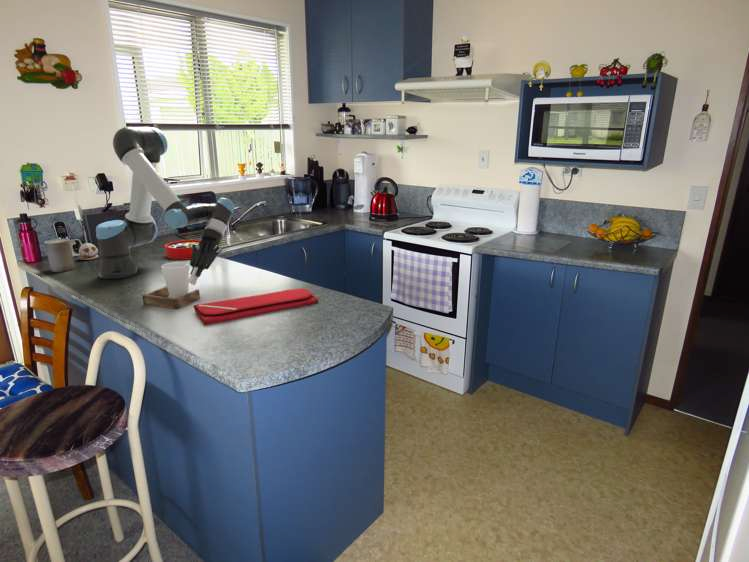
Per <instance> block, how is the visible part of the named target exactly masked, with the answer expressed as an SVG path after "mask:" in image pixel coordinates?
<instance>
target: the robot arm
mask: <svg viewBox="0 0 749 562" xmlns="http://www.w3.org/2000/svg"><path fill="white" fill-rule="evenodd" d="M112 146H113V151H114V153H115V154H116V157H118V159H119V161H120V162H121V163H122V164H123V165H124V166H127V167H128V168H129V169H130V171H132V178H131V179H132V180H131V189H130V198H129V199H130V201H129V211H128V212H127V213H125V216H124V220H122V219H121V220H120V219H114V220H108V221H105V222H102V223H99V224H98V225H96V227H95V233H96V234H95V237H96V240H97V245H98V252H99V256H100V257H99V258H100V262H99V270H98V277H99V278H100V279H104V280H116V279H123V278H129V277H132V276H135V275H136V274H137V273H138V268H137V266H136V264H135V261H134V260H133V258H132V257H131V252H130V249H131V248H135V247H138V246H144V245H147V244H149V243H152V242H154V241H155V239H156V238H157V237H158V229H159V228H158V226H157V222H156V221H155V220H154V217H153V216H152V215H151V209H152V203H153V198H154V200H155V201H156V203H158V205H159V206H160V207H161V208H162V210H163V211H164V212H165V214H164V220H165V222H166V224H167V225H168V226H169V227H170V228H172V229H178V228H184V227H188V226H190V225H197V224H200V223H205V222H206V223H207V224H206V226H205V228H204V230H203V232H202V235H201V239H200V240H201V241H200V242H199V244H197V245H195V244H194V245H193V246H192V247H193V251H192V256H191V259H189V260H190V261H189V266H190V267H192V269H191V271H190V272H189V284H190V285H191V286H195V285H196V284H197V281H198V279H199V278H200V277H201V276H202V273H203V271H204V270H208V269H210V267H211V266H212V264H213V262H214V261H215V260H216V259H217V257H218V255H219V254H220V253H222V251H223V250H222V249H221V248H220V246H219V245H220V243H221V242H222V239H223V236H224V235H225V232H226V229H227V227H228V225H229V222H230V220H231V218H232V217H233V215H234V211H235V208H236V205H235V204H234V202H233V201H232V200H230V199H228V198H226V197H220V198H218V199H217V201H216V203H200V202H198V203H192V204H190V205H188V206H186V205H185V204H184V203H183V201H181V199H180V198H179V197H178V196H177V195H176V193H175V192H174V190H173V189H172V188H171V187H170V185H169V184H168V183H167V182H166V181H165V180H164V178H163V177H162V176H161V174H160V173H159V172H158V170H157V169H156V165H158V164H159V163H160V161H161V156H163V155H164V154H165V153H167V151H168V146H169V145H168V141H167V138H166V136H165V135H164V133H163V132H162V131H161V130H160V129H159V128H156V127H152V126H151V127H150V126H124V127H120V128H119V129H118V130H117V131H116V132H115V134H114V135H113V139H112ZM199 248H200V249H199Z"/></svg>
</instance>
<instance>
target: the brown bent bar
mask: <svg viewBox="0 0 749 562" xmlns="http://www.w3.org/2000/svg"><path fill="white" fill-rule="evenodd" d="M141 296H142V304H143V305H144V306H145V305H146V306H153V307H159V308H160V307H161V308H166V309H174V310H178V309H181V308H182V307H185V306H187V305H189V304H191V303H194V302H195V301H196V302H197V301H198V300H201V294H200V289H194V290H192V291H189V293H187V294H185V295H183V296H180V297H178V298H176V299H175V298H170V297H168V296H169V292H168V289H167V285H165V286H163V287H160V288H158V289H155V290H153V291H149V292H147V293H145V294H143V295H141Z"/></svg>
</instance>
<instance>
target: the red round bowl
mask: <svg viewBox="0 0 749 562" xmlns="http://www.w3.org/2000/svg"><path fill="white" fill-rule="evenodd" d="M201 240H202V239H185V240H183V239H181V240H177V241H172V242H169V243H168V242H167V243H166V244H165V245H164V248H165V254H166V256H165V257H166V258H167V259H171V260H191V256H192V251H193V247H192V246H193V245H194V244H195V245H197V244H199V242H200V241H201ZM199 249H200V248H199Z"/></svg>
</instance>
